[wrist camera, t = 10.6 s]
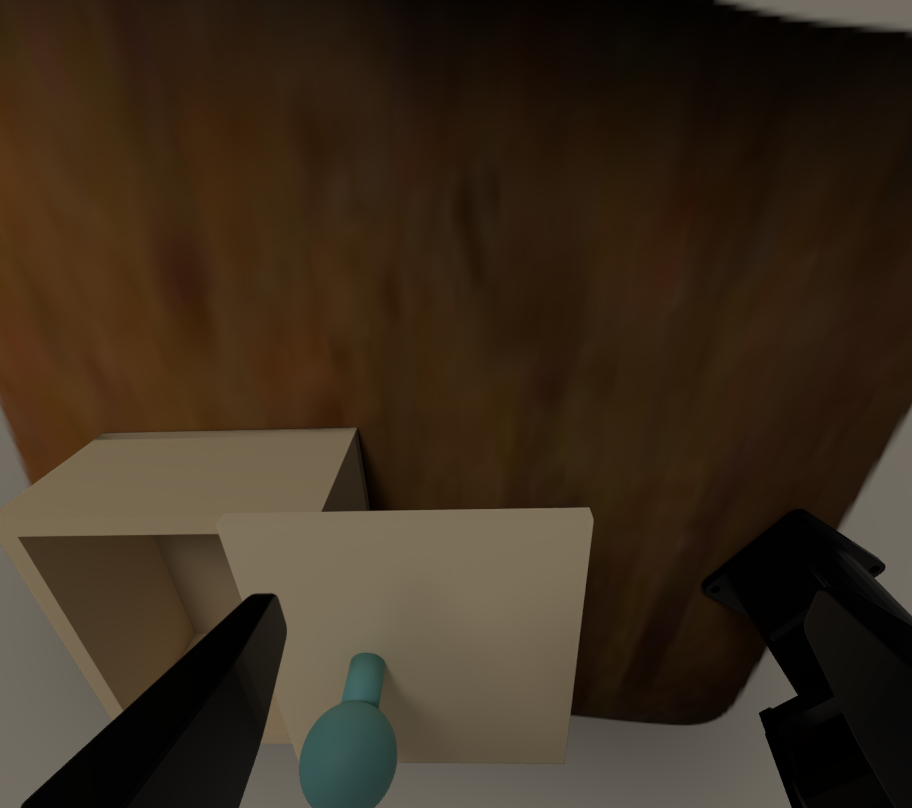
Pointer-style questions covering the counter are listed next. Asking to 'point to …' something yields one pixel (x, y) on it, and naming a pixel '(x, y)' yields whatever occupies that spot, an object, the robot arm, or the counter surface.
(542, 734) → the carton lid
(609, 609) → the counter surface
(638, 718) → the counter surface
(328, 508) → the carton
